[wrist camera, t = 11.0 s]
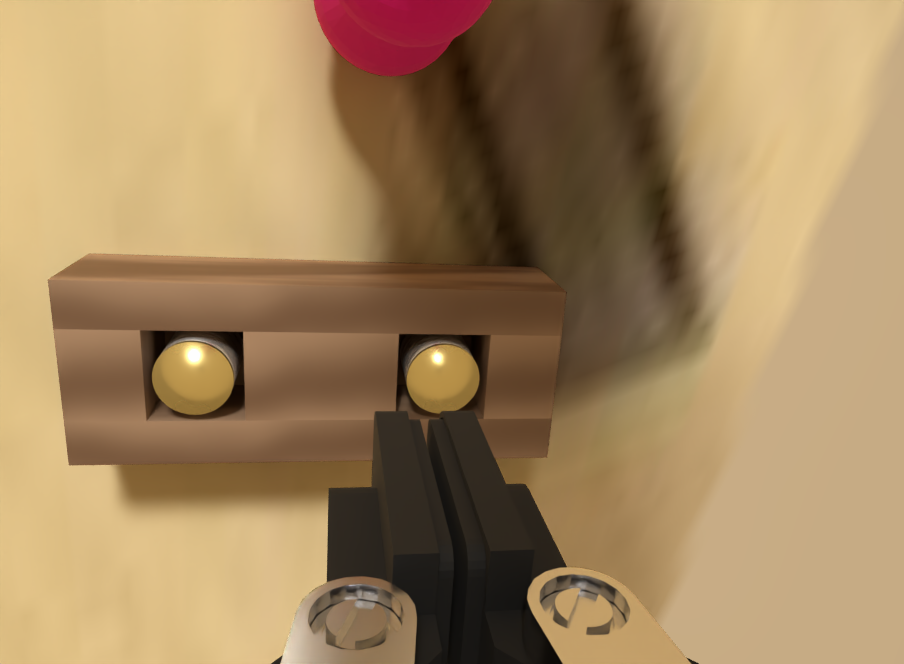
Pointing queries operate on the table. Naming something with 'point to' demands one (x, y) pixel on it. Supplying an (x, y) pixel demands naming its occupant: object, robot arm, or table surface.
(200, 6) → the table surface
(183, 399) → the peg
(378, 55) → the pepper mill
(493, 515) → the robot arm
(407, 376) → the peg
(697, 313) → the table surface
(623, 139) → the table surface
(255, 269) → the collar block
